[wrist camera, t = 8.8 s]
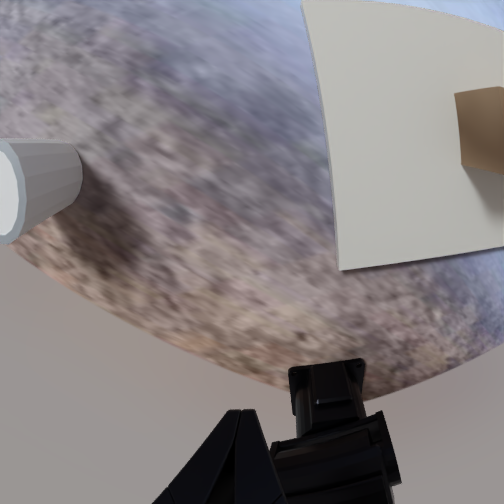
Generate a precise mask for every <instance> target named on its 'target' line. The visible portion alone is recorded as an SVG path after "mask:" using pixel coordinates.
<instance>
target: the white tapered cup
mask: <svg viewBox="0 0 504 504" xmlns="http://www.w3.org/2000/svg"><path fill="white" fill-rule="evenodd" d="M82 181H83V174H82V164H81V161H80V158H79V155H78V152H77V151H76V150H75V149H74V148H73V147H72V145H71V144H70V143H67V142H65V141H62V140H55V139H30V138H0V244H10V243H11V242H13V241H14V240H15V239H17V238H18V237H20V236H21V235H23V234H24V233H26V232H27V231H29V230H30V229H32V228H33V227H35V226H37V225H38V224H40V223H41V222H43V221H44V220H46V219H48V218H49V217H51V216H52V215H54V214H56V213H57V212H59V211H61V210H62V209H64V208H66V207H67V206H69V205H70V204H72V203H73V202H74V201H75V199H76V198H77V196H78V194H79V193H80V189H81V185H82Z"/></svg>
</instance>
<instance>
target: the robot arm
mask: <svg viewBox="0 0 504 504" xmlns="http://www.w3.org/2000/svg"><path fill="white" fill-rule="evenodd" d="M357 364H359V365H357ZM364 367H365V363H364V360H363V359H361V358H358V359H352V360H345V361H338V362H331V363H323V364H315V365H306V366H297V367H291V368H290V369H289V370H288V377H289V385H290V394H291V403H292V412H293V415H294V416H296V430H297V431H296V432H297V438H294V439H290V440H285V441H281V442H280V441H276V442H272V445H271V448H270V451H269V449H268V446H267V443H266V441H265V438H264V435H263V432H262V429H261V426H260V423H259V420H258V417H257V414H256V411H255V409H244V410H242V411H241V410H239V409H235V410H228V411H227V412H226V414H225V415H224V416H223V418H222V419H221V420H220V422H219V423H218V424H217V426H216V427H215V428H214V429H213V431H212V432H211V433H210V435H209V436H208V437H207V438H206V440H205V441H204V442H203V444H202V445H201V446H200V448H199V449H198V450H197V451H196V452H195V454H194V455H193V456H192V458H191V459H190V460H189V461H188V462H187V464H186V465H185V466H184V467H183V468H182V470H181V471H180V472H179V473H178V475H177V476H176V477H175V478H174V479H173V480H172V482H171V483H170V484H169V485H168V487H167V488H165V490H164V491H163V492H162V493H161V494H160V496H158V498H157V499H156V500H155V501H154V502H153V503H152V504H395V503H394V495H393V490H392V486H395V485H398V484H401V483H402V482H401V477H400V473H399V469H398V464H397V460H396V457H395V453H394V449H393V445H392V442H391V438H390V435H389V432H388V429H387V425H386V421H385V418H384V415H383V412H382V410H381V411H379V412H376V414H374V415H371V416H368V417H367V416H366V412H365V408H364V404H363V400H362V397H361V393H362V385H363V377H364ZM293 372H296V373H293Z"/></svg>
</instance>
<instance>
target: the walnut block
mask: <svg viewBox="0 0 504 504" xmlns="http://www.w3.org/2000/svg"><path fill="white" fill-rule="evenodd" d="M454 97H455V104H456V111H457V118H458V127H459V138H460V151H461V165H464V166H469V167H473V168H478V169H482V170H486V171H490V172H494V173H498V174H502V175H504V87H500V86H496V87H489V88H482V89H476V90H469V91H464V92H458V93H454Z"/></svg>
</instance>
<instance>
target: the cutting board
mask: <svg viewBox="0 0 504 504" xmlns="http://www.w3.org/2000/svg"><path fill="white" fill-rule="evenodd" d="M300 8H301V12H302V16H303V20H304V24H305V28H306V33H307V37H308V42H309V46H310V51H311V56H312V61H313V66H314V71H315V77H316V82H317V88H318V93H319V99H320V105H321V112H322V118H323V125H324V132H325V139H326V147H327V155H328V163H329V172H330V181H331V191H332V202H333V214H334V227H335V242H336V260H337V266H338V269H339V271H341V270H349V269H357V268H364V267H372V266H379V265H386V264H394V263H401V262H408V261H414V260H421V259H428V258H434V257H441V256H447V255H454V254H460V253H466V252H472V251H478V250H484V249H490V248H496V247H502V246H504V175H502V174H498V173H494V172H490V171H486V170H482V169H478V168H473V167H469V166H464V165H461V151H460V138H459V127H458V118H457V111H456V104H455V97H454V93H458V92H464V91H469V90H476V89H482V88H489V87H496V86H500V87H504V31H502V30H500V29H497V28H494V27H491V26H489V25H486V24H483V23H480V22H476V21H473V20H470V19H466V18H463V17H459V16H456V15H452V14H448V13H443V12H439V11H434V10H430V9H425V8H419V7H413V6H407V5H400V4H393V3H384V2H374V1H361V0H301V5H300Z"/></svg>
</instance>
